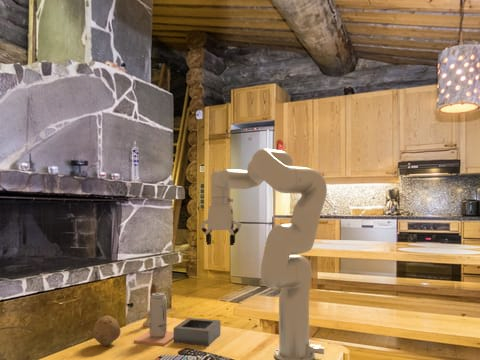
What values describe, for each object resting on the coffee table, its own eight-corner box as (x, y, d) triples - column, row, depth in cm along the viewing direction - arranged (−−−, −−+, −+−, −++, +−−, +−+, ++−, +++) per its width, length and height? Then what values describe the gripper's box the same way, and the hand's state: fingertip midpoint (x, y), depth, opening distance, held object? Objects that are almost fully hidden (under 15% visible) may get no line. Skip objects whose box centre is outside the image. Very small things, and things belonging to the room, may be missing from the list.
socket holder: (220, 334, 144) (220, 320, 145) (208, 346, 132) (208, 331, 132) (188, 331, 148) (188, 317, 148) (173, 342, 135) (173, 328, 136)
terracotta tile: (179, 334, 144) (179, 332, 144) (165, 345, 132) (165, 343, 132) (150, 332, 147) (150, 329, 147) (133, 342, 135) (133, 340, 136)
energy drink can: (162, 339, 136) (162, 296, 137) (146, 338, 137) (147, 295, 138) (169, 334, 142) (169, 292, 143) (154, 333, 143) (154, 291, 144)
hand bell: (159, 327, 153) (159, 286, 154) (139, 326, 154) (140, 285, 156) (167, 321, 161) (167, 282, 162) (148, 320, 163) (149, 281, 164)
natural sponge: (85, 347, 131) (86, 317, 132) (105, 339, 139) (105, 311, 139) (105, 351, 127) (106, 320, 128) (124, 343, 135) (125, 314, 136)
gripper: (243, 201, 157) (243, 244, 156) (203, 202, 162) (203, 243, 160) (238, 201, 150) (238, 246, 149) (196, 201, 154) (196, 245, 153)
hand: (220, 244), depth 155 cm, fingers open, 9 cm apart
